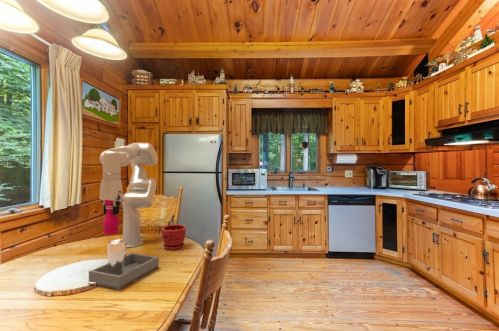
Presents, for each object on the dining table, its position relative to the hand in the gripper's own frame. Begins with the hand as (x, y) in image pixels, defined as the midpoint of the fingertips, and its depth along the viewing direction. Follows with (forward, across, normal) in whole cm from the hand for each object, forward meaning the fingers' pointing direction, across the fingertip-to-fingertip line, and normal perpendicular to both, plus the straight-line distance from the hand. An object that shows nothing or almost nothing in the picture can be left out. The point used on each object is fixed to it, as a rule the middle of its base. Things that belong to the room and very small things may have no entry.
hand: (111, 213), depth 119 cm
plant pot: (+25, +16, +29) cm, 41 cm away
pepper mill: (+10, 0, 0) cm, 10 cm away
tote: (+23, +18, -9) cm, 31 cm away
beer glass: (+23, +18, -14) cm, 32 cm away
